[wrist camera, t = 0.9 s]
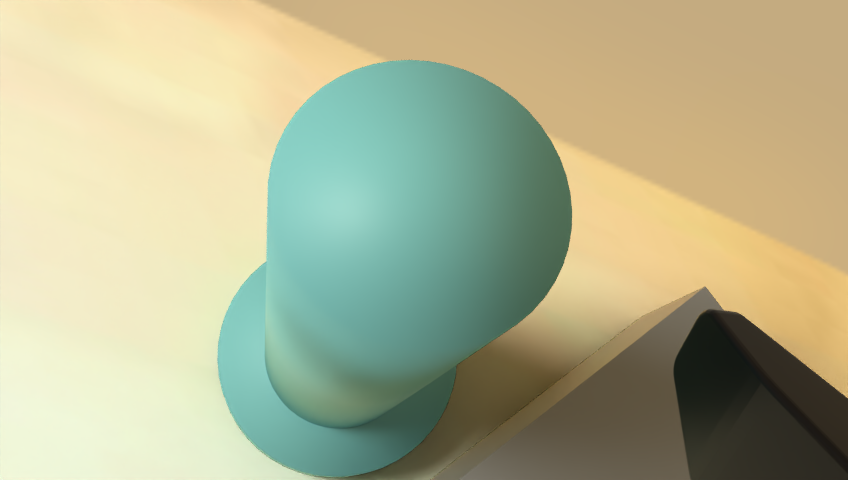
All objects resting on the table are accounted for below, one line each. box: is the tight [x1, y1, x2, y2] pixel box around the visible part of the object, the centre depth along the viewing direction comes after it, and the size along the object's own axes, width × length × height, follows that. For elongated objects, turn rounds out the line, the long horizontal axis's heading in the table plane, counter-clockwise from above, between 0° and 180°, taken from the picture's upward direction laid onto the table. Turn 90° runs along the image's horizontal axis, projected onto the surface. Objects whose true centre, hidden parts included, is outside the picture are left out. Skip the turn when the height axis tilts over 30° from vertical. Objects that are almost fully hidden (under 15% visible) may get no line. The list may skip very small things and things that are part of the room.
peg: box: [218, 60, 572, 478], centre depth 16 cm, size 6×6×13 cm
